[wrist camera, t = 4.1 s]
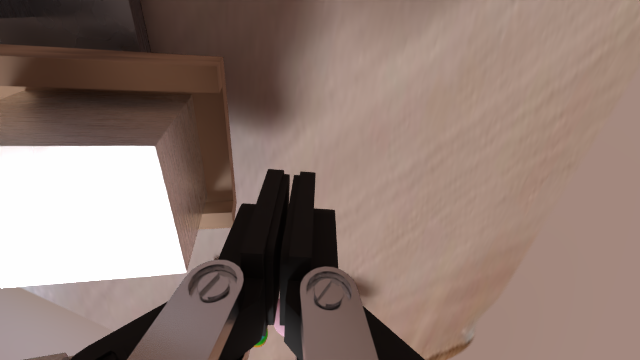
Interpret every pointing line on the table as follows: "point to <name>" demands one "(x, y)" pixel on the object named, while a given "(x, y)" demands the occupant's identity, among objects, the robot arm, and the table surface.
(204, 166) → the balance beam
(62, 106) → the white block
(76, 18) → the pivot stand
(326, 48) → the table surface
